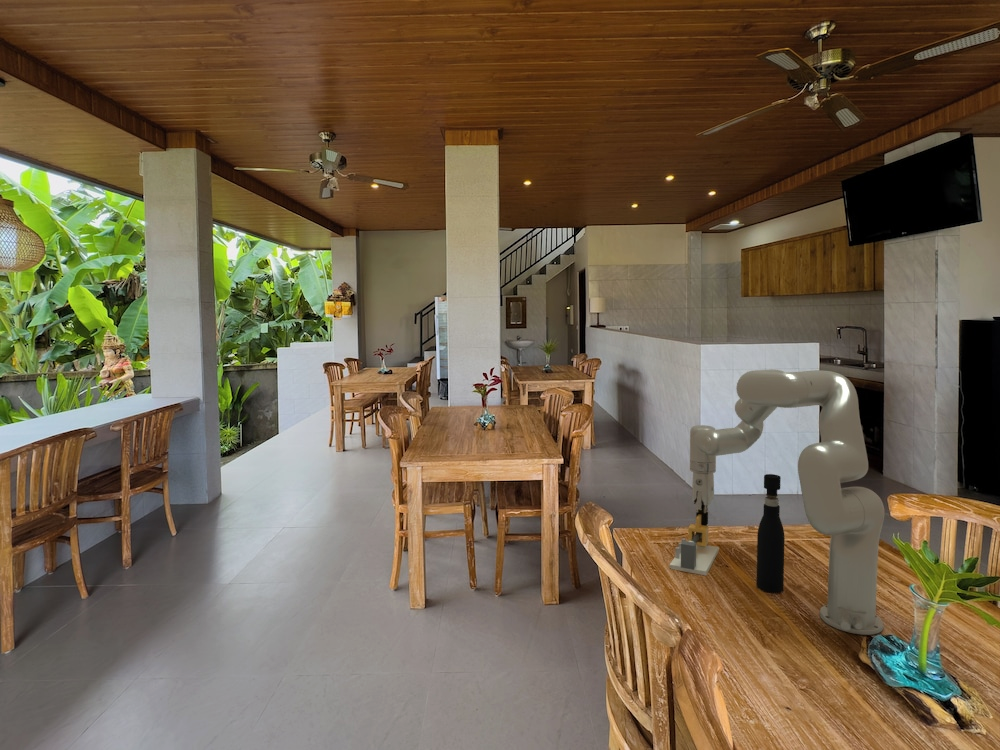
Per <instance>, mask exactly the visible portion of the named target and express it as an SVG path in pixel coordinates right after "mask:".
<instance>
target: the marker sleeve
mask: <svg viewBox="0 0 1000 750" xmlns="http://www.w3.org/2000/svg"><path fill="white" fill-rule="evenodd" d="M687 529H688V531H687V532H688V534H687V535H688V538H687V539H688V540H687V541H691V540H692V539H693V537H694V536H695V534H696V532H699V533H702V538H700V539H699V540H698V542H697V543H696V545H699V546H705V547H706V545H708V543H709V525H707V526H704V525H701V515H698V516H697V517H696V516H695V523H690V525H689V526H688V528H687Z"/></svg>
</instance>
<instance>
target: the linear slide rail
mask: <svg viewBox="0 0 1000 750" xmlns="http://www.w3.org/2000/svg"><path fill="white" fill-rule="evenodd" d="M700 538H702V533H699V532H695V536H694V537H693V539H692V540H691V541H688V540H687V538H685V537H684V538H681V542H678V546H675V556H674V558H673V559H672V560H671V562H670V564H669V569H670V568H671V569H670V570H674V569H675V571H681V572H684V573H685V572H686V573H690V574H696V575H702V576H705V577H706V576H707V575H708V573H709V571H710V569H711V568H712V565H713V563H714V561H715V559H716V557H717V555H718V554H719V550H720V547H719V546H713V545H708V544H707V545H706V547H705V546H699V545H696V543H697V542H698V540H699V539H700Z"/></svg>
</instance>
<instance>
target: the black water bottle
mask: <svg viewBox="0 0 1000 750" xmlns="http://www.w3.org/2000/svg"><path fill="white" fill-rule="evenodd" d="M781 479H782V478H781V476H780V475H779V474H772V473H769V474H768V473H767V474H766V473H765V474H764V476H763V488H764V489H765V490H766V493H765V495H766V496H765V498H764V504H763V514H762V517H761V520H760V522H759V526H758V529H757V537H756V538H757V539H756V540H757V541H756V543H757V544H756V588H757V589H758V590H760V591H762V592H764V593H768V594H780V593H783V591H784V582H785V581H784V580H785V579H784V578H785V577H784V576H785V575H784V573H785V540H786V539H785V538H786V537H785V530H784V526H783V524H782V523H783V522H782V520H781V517H780V505H779V501H780V500H779V498H778V491H780V490H781Z"/></svg>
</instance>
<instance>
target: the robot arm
mask: <svg viewBox="0 0 1000 750" xmlns="http://www.w3.org/2000/svg"><path fill="white" fill-rule="evenodd" d="M736 394H737V396H738V398H739V399H738V400H737V401H736V403H735V404H734V411H735V414H736V416H737V417H738V418H739V419H740V420H741V421H740V422H739V423H738V424H737V425H736V426H734V427H728V428H727V427H726V428H720V429H719V428H718V429H716V428H715V427H714V426H710V425H703V424H700V425H699V424H697V425H694V426H691V428H690V431H689V471H690V472H692V486H691V487H692V488H691V489H692V492H691V493H692V495H691V498H692V499H691V500H692V504H694V505H695V506H696V508H695V509H696V511H695V518H696V517H697V516H698V515H701V525H704V526H708V524H709V512H708V511H709V506H710V505H711V504H712V502H713V501H714V499H715V481H714V480H715V479H714V473H716V472H717V471H716V469H717V466H716V465H717V456H726V455H732V454H739V453H743V452H745V451H747V450H749V449H750V448H751V447H752V446H753V445H754V444H755V443H756V442H757V441H758V440H759V439H760V438H761V436H762V434H763V431H764V422H765V420H766V419H767V418H768V417H769V416H770V415H771V414H772V413H773V412H774V411H775V410H777V408H781V409H783V408H784V409H786V408H787V409H792V408H794V409H795V408H803V407H812V406H820V407H821V411H820V413H819V418H818V429H819V433H820V442H816V443H811V444H809V445H807V446H805V447H804V449H802V450H801V452H800V453H799V456H798V459H797V460H798V461H797V473H798V478H799V479H798V480H799V485H800V491H801V497H802V501H803V507H804V513H805V515H806V518H807V520H808V522H809V524H810V526H811V527H812V528H813V529H814V530H815V531H817V532H818V533H819V534H821V535H824V536H830V541H829V552H828V575H827V576H828V577H827V578H828V581H827V583H828V584H827V604H825V605H823V606H821V607H820V608H819V617H820V618H821V620H823V622H824V623H826V624H827V625H829V626H830V627H833V628H835V629H837V630H840V631H843V632H847V633H850V634H855V635H862V636H863V635H864V636H865V635H866V636H867V635H868V636H870V635H871V636H872V635H876V634H879V633H881V632H882V631H883V630H884V622H883V620H882V619H881V617H879V616H878V615H877V614H876V613H877V612H876V611H877V587H878V562H879V561H878V560H879V548H880V547H879V544H880V536H881V534H882V533H881V532H882V529H883V524H884V520H885V507H884V503H883V501H882V498H881V497H880V496H879V495H878V494H877V493H876V492H874V491H873V490H872V489H870V488H867V487H864V486H849V487H842V486H841V484H843V483H847V482H853V481H858V480H859V479H862V478H863V477H865V476H866V474H867V473H868V471H869V460H868V453H867V447H866V444H865V436H864V432H863V427H862V424H861V418H860V409H859V407H860V406H859V397H858V394H857V390H856V388H855V386H854V384H853V383H852V382H851V380H850V379H849V378H847V377H846V376H845V375H842V373H841V374H840V373H838V372H835V371H831V370H821V369H820V370H804V371H791V372H789V371H788V372H786V371H783V370H780V369H773V368H772V369H760V370H759V369H758V370H757V369H755V370H749V371H747V372H744V373H743V374H742V375H741V376H740V377H739V379H738V380H737V382H736Z"/></svg>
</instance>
